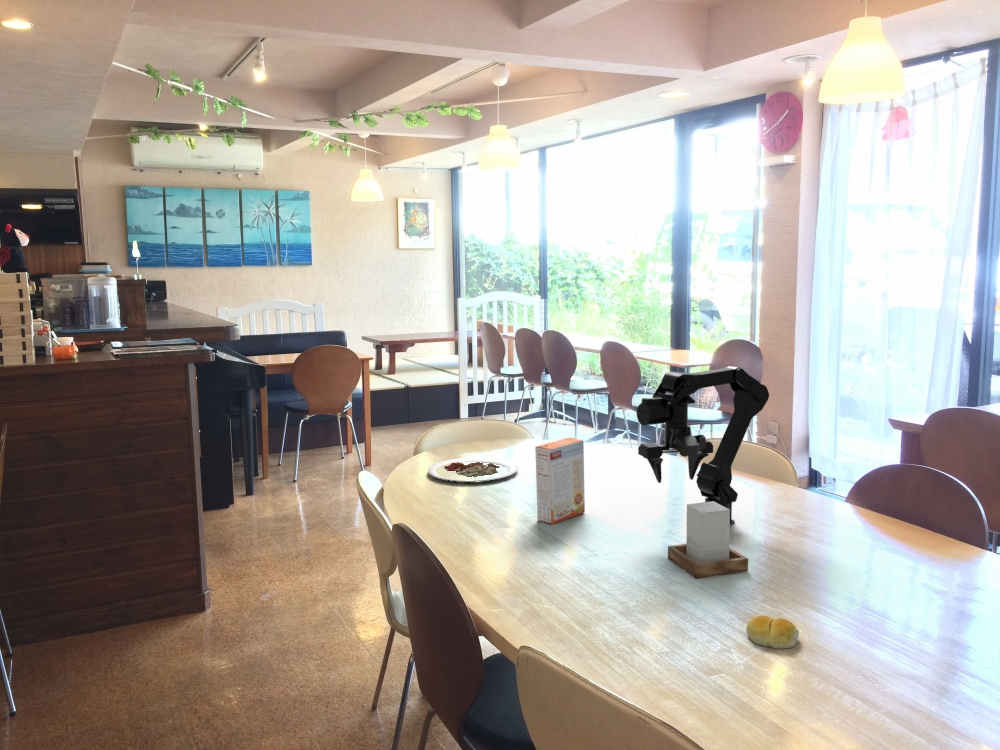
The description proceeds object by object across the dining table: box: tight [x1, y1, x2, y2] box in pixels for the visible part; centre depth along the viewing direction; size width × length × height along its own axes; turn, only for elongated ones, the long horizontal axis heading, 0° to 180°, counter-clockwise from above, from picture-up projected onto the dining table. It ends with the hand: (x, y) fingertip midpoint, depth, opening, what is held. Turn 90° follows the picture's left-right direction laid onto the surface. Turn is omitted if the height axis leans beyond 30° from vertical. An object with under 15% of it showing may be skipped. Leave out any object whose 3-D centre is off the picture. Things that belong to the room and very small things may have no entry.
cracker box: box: [534, 437, 586, 525], centre depth 219 cm, size 14×6×21 cm, turn 135°
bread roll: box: [746, 614, 800, 650], centre depth 148 cm, size 8×9×4 cm
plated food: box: [427, 456, 519, 483], centre depth 267 cm, size 30×30×3 cm
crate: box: [667, 543, 749, 579], centre depth 184 cm, size 13×13×3 cm
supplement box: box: [685, 501, 731, 564], centre depth 184 cm, size 7×7×13 cm
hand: (675, 481), depth 206 cm, fingers open, 9 cm apart
